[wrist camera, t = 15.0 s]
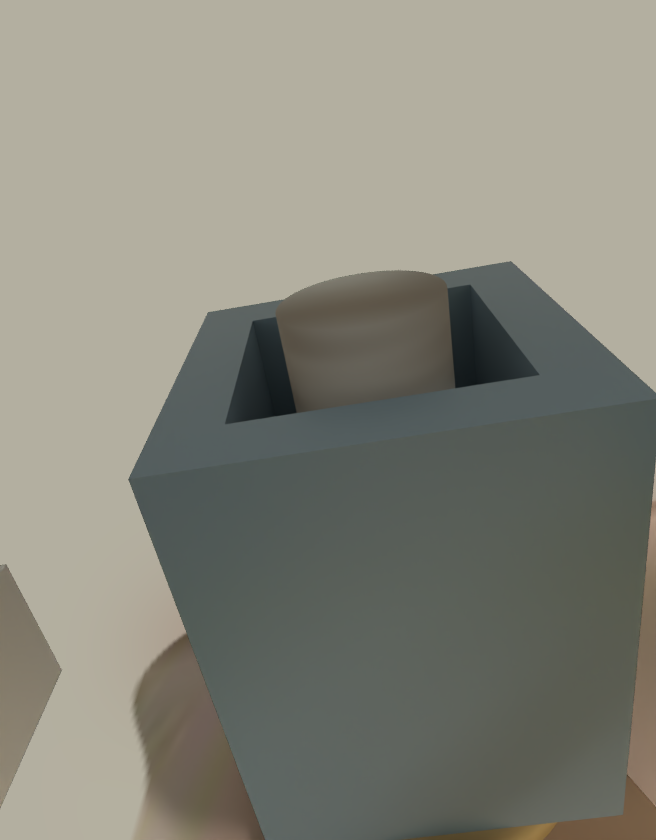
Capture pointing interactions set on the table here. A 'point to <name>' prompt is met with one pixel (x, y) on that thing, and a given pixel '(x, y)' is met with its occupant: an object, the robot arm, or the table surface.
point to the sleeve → (413, 571)
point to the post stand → (396, 377)
